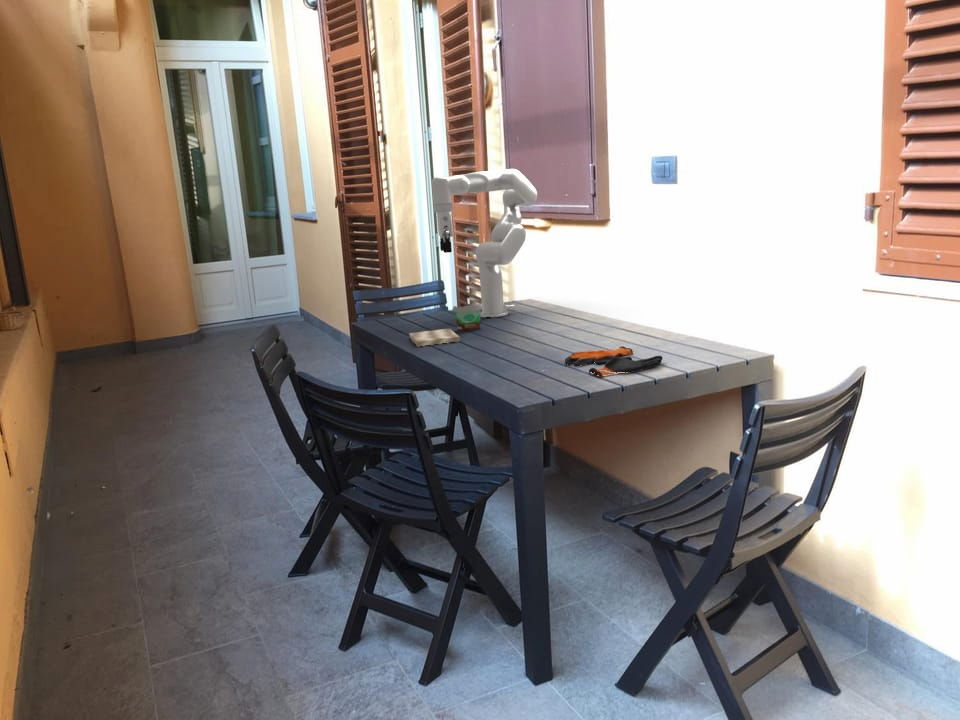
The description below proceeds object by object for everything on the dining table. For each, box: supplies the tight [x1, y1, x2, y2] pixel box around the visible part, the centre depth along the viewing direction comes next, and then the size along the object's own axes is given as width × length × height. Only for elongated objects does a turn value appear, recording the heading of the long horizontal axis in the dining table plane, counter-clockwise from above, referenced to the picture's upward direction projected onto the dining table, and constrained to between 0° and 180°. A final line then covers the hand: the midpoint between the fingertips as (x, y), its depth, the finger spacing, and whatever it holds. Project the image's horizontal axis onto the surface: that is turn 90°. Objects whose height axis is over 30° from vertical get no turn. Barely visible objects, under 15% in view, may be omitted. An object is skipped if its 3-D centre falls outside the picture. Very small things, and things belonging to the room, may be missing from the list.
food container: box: [452, 302, 482, 332], centre depth 312 cm, size 12×6×10 cm, turn 111°
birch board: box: [409, 327, 461, 348], centre depth 299 cm, size 16×18×2 cm
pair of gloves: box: [564, 345, 663, 376], centre depth 243 cm, size 27×24×3 cm
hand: (446, 251), depth 318 cm, fingers open, 9 cm apart
